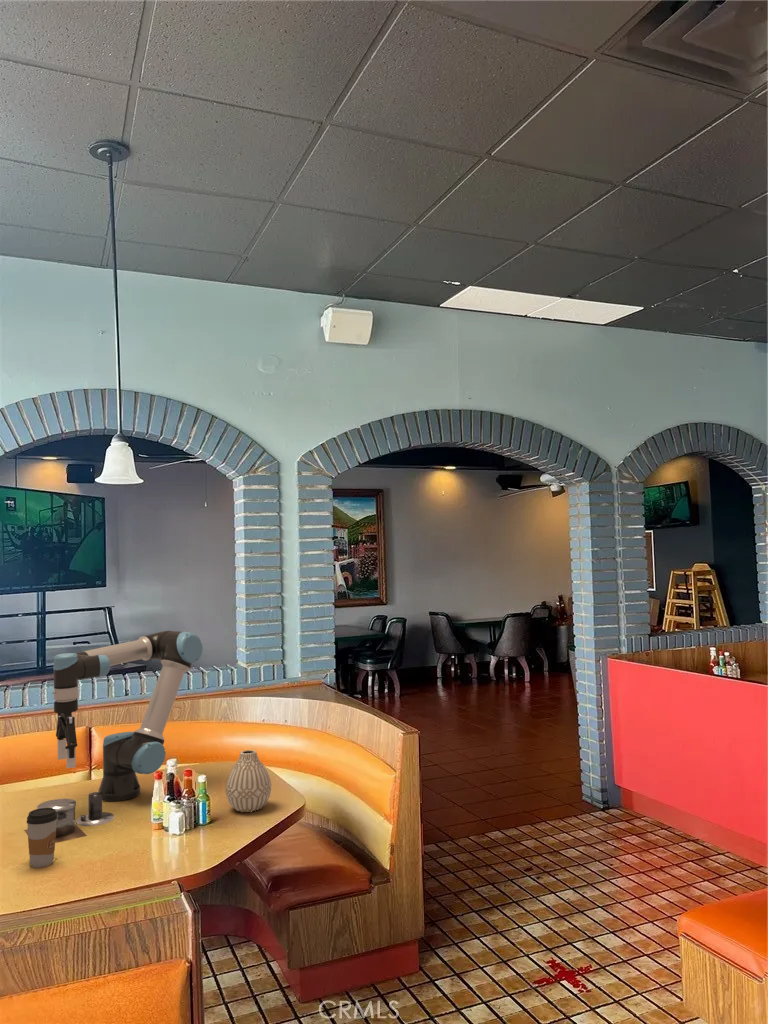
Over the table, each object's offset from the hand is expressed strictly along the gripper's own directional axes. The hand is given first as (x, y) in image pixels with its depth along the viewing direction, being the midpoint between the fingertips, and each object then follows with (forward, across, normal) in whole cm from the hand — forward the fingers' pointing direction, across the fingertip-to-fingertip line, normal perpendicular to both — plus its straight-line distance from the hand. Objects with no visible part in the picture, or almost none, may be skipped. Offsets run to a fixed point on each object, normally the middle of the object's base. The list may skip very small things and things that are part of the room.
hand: (66, 763), depth 261 cm
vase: (+22, +22, +56) cm, 64 cm away
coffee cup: (+20, +31, -14) cm, 39 cm away
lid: (+21, +3, +8) cm, 23 cm away
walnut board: (+20, +8, -5) cm, 23 cm away
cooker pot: (+20, +8, -5) cm, 22 cm away
